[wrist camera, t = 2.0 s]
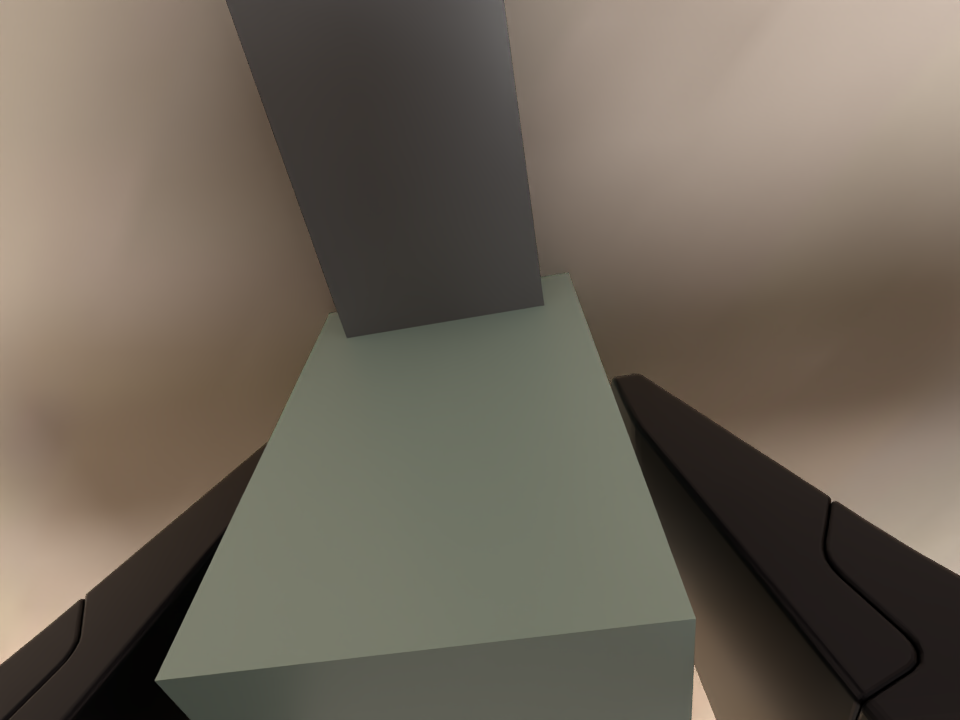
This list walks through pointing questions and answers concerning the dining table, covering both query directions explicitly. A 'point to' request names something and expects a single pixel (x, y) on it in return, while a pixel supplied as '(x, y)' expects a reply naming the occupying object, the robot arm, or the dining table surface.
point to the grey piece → (430, 419)
